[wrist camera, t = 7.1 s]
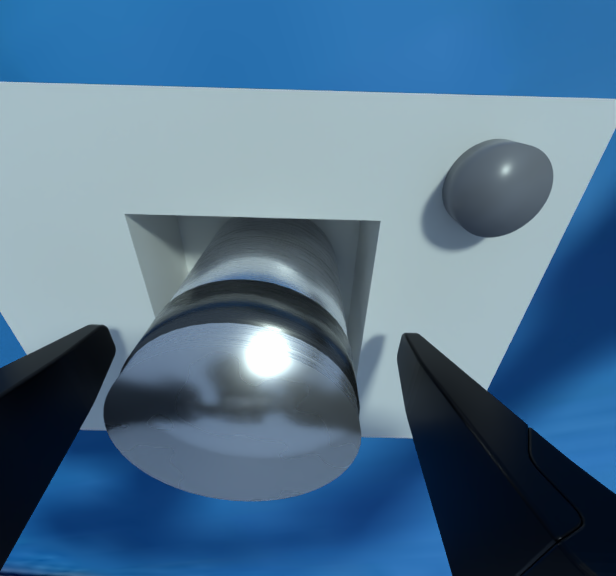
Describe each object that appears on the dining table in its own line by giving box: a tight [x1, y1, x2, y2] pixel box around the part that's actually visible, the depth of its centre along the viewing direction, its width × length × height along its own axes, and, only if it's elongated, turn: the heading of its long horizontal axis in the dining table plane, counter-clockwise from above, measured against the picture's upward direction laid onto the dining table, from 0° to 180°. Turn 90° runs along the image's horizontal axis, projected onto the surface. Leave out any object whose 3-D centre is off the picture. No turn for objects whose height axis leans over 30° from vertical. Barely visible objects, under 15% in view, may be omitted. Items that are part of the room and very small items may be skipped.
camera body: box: [0, 82, 616, 438], centre depth 11 cm, size 16×12×6 cm
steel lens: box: [103, 217, 361, 501], centre depth 9 cm, size 5×5×7 cm
